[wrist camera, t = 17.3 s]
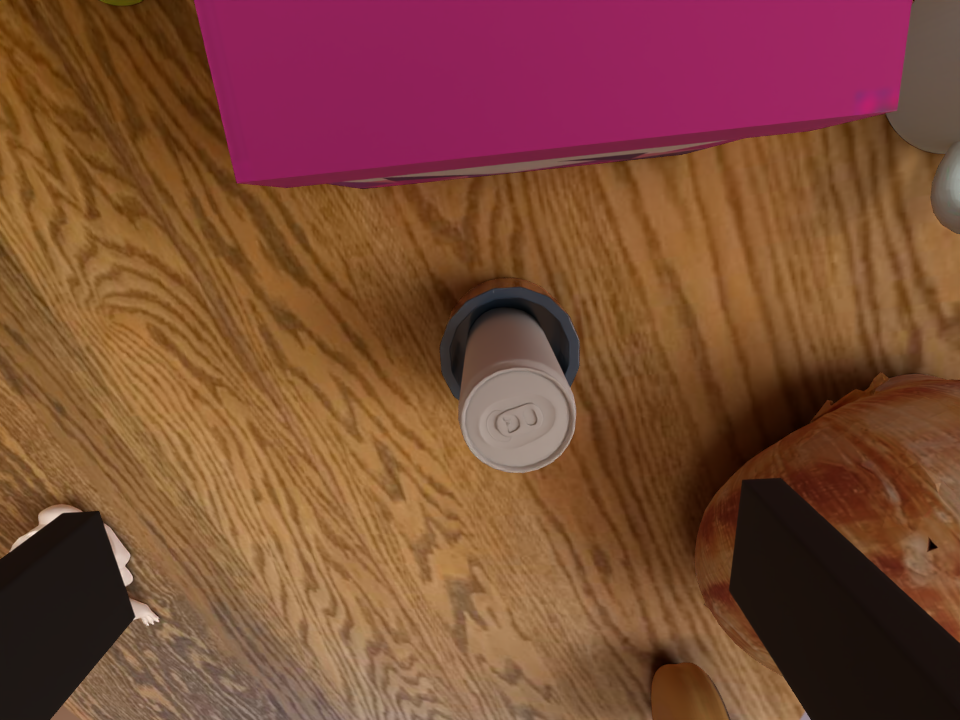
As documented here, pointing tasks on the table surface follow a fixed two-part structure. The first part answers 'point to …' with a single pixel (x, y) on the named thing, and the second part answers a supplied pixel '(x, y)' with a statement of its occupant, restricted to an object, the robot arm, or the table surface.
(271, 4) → the decorative box
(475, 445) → the beverage can
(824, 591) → the robot arm
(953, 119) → the mug
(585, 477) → the table surface
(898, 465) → the seashell
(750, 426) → the table surface
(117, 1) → the soap dispenser
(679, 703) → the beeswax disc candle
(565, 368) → the holder
